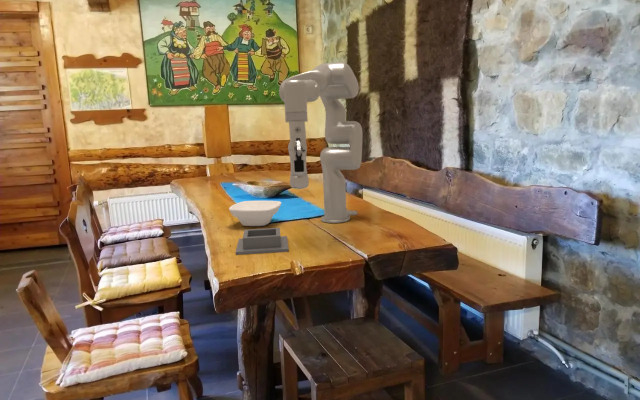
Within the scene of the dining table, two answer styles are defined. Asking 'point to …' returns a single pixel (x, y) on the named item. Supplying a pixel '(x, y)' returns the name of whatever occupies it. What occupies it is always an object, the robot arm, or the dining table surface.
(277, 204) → the bowl
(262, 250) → the gray square tray
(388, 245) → the dining table surface
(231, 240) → the dining table surface
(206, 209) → the dining table surface
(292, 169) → the plastic bottle
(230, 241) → the dining table surface
